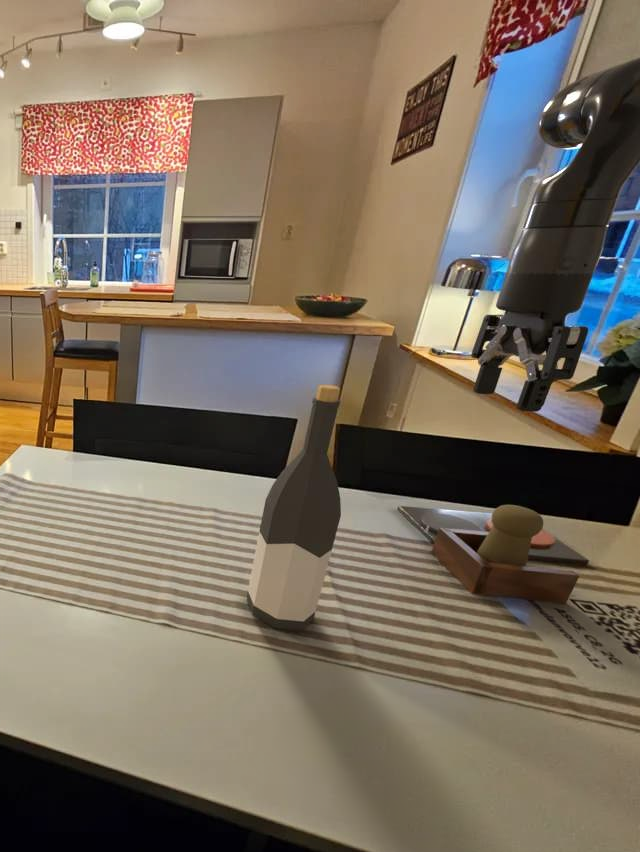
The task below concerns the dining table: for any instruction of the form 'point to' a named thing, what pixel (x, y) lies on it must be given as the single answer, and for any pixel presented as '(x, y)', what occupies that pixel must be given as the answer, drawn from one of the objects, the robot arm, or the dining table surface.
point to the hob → (434, 519)
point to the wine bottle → (298, 527)
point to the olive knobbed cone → (510, 535)
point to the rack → (498, 570)
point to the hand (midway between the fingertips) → (503, 401)
